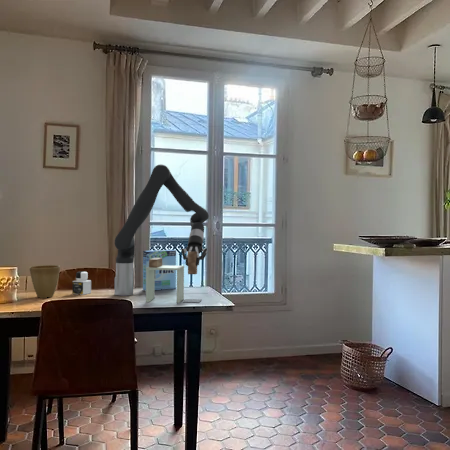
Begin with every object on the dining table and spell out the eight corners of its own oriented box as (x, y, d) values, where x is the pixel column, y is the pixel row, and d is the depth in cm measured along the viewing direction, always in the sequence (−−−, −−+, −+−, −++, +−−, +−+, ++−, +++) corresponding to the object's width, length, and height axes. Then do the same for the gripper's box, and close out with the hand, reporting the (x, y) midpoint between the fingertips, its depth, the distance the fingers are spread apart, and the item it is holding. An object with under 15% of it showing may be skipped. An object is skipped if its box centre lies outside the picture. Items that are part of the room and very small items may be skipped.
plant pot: (43, 294, 248) (43, 264, 247) (66, 295, 243) (66, 265, 242) (22, 298, 233) (22, 267, 233) (46, 300, 228) (46, 268, 228)
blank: (187, 274, 227) (187, 252, 226) (189, 273, 231) (189, 251, 230) (195, 274, 226) (195, 252, 226) (197, 273, 230) (197, 251, 230)
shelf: (145, 302, 225) (145, 267, 225) (152, 297, 238) (152, 265, 238) (178, 303, 223) (179, 268, 223) (183, 298, 236) (184, 265, 236)
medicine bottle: (72, 294, 249) (72, 272, 249) (80, 292, 255) (81, 270, 255) (82, 295, 246) (82, 272, 246) (91, 293, 253) (91, 271, 252)
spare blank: (149, 267, 226) (149, 259, 226) (154, 265, 237) (154, 257, 237) (157, 267, 225) (157, 259, 225) (162, 265, 236) (162, 257, 236)
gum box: (172, 287, 276) (172, 249, 276) (176, 288, 272) (176, 250, 272) (142, 290, 265) (142, 250, 265) (146, 291, 261) (146, 251, 261)
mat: (182, 302, 225) (182, 301, 225) (185, 299, 233) (185, 298, 233) (199, 303, 224) (199, 302, 224) (201, 300, 232) (201, 299, 232)
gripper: (181, 234, 236) (176, 260, 224) (208, 234, 235) (205, 260, 223) (183, 244, 242) (178, 269, 230) (210, 244, 240) (206, 270, 228)
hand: (192, 265), depth 226 cm, fingers closed on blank, 4 cm apart
